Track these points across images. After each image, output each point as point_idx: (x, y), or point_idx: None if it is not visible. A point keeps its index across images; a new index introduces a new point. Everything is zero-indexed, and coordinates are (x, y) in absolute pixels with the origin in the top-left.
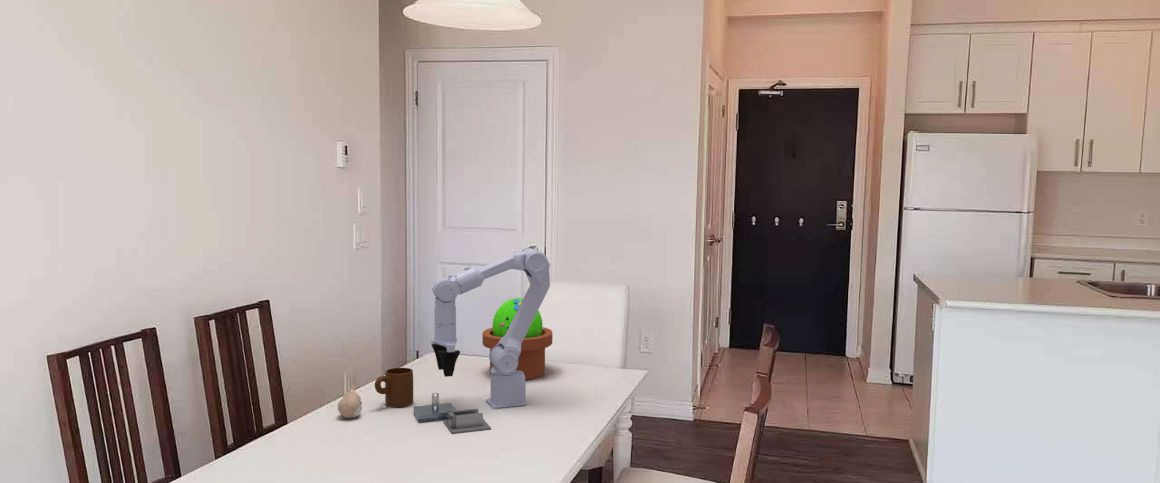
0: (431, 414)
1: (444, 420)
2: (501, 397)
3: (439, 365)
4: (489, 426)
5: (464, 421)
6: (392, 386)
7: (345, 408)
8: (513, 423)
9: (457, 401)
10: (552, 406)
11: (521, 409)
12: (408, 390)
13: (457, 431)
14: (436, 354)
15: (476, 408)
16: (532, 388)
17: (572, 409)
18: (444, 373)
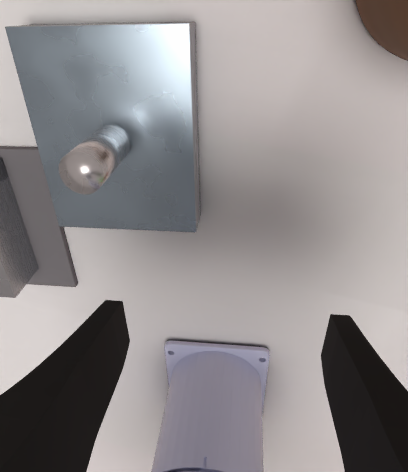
0: (26, 103)
1: (33, 154)
2: (170, 390)
3: (336, 344)
4: None
5: None
6: None
7: None
8: (10, 339)
9: (315, 266)
10: (148, 443)
11: (141, 390)
12: (386, 16)
13: None
14: (380, 434)
15: (9, 293)
16: (336, 464)
17: (113, 459)
18: (91, 315)
